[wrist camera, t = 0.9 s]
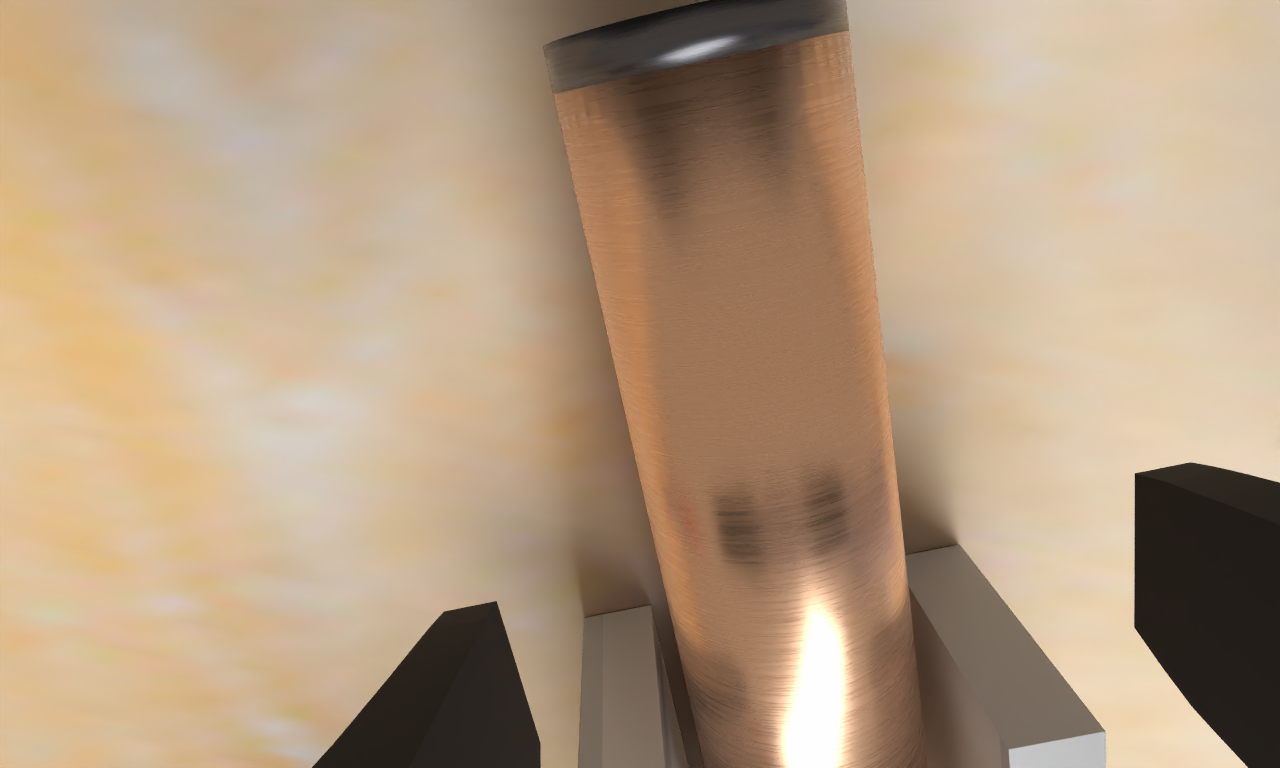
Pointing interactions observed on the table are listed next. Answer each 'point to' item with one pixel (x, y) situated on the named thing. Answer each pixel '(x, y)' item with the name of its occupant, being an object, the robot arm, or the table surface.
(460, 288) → the table surface
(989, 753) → the u-shaped bracket
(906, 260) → the table surface
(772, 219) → the tube
